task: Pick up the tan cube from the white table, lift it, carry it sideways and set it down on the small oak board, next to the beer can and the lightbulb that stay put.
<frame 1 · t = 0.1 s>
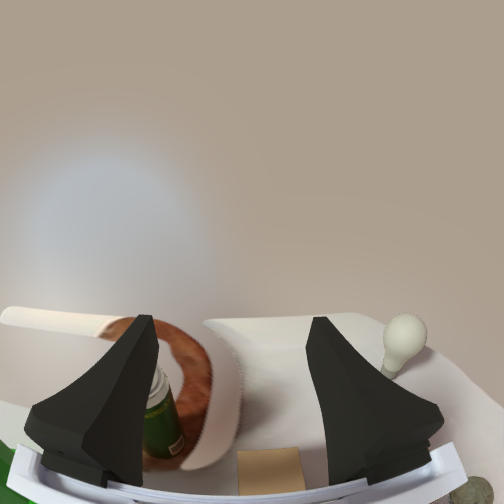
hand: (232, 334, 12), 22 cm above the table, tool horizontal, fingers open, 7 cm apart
lightbulb: (385, 377, 34), on the table
tan cube: (266, 489, 20), on the table
beer can: (163, 442, 25), on the table
plastic bottle: (36, 501, 12), on the table
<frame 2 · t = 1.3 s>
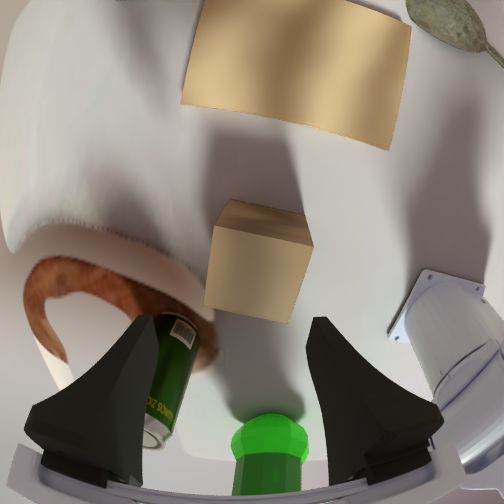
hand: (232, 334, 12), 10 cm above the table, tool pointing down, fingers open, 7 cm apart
soupspoon: (497, 72, 13), on the table
oak board: (301, 54, 15), on the table
tan cube: (259, 240, 21), on the table
beer can: (176, 329, 26), on the table
plastic bottle: (272, 421, 32), on the table
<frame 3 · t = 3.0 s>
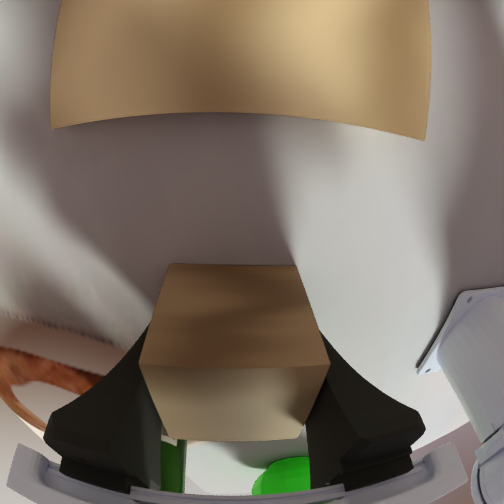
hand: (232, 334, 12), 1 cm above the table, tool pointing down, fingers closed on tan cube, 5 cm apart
tan cube: (232, 313, 13), on the table, touching gripper
beer can: (155, 411, 18), on the table
plastic bottle: (291, 462, 26), on the table
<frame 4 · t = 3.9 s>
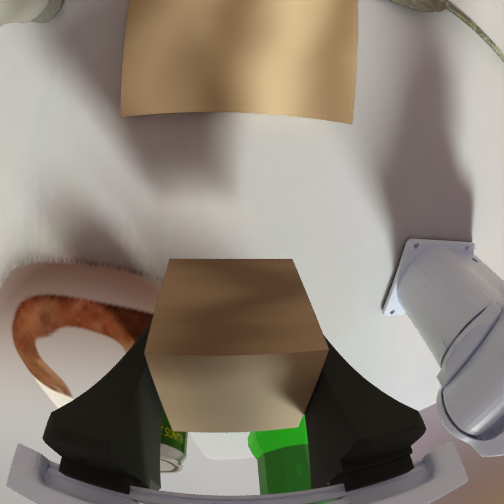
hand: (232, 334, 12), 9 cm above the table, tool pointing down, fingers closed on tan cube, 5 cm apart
lightbulb: (55, 11, 10), on the table
soupspoon: (459, 29, 12), on the table
oak board: (240, 38, 13), on the table
tan cube: (230, 307, 14), point 7 cm above the table, touching gripper
beer can: (167, 345, 25), on the table
plastic bottle: (283, 413, 33), on the table
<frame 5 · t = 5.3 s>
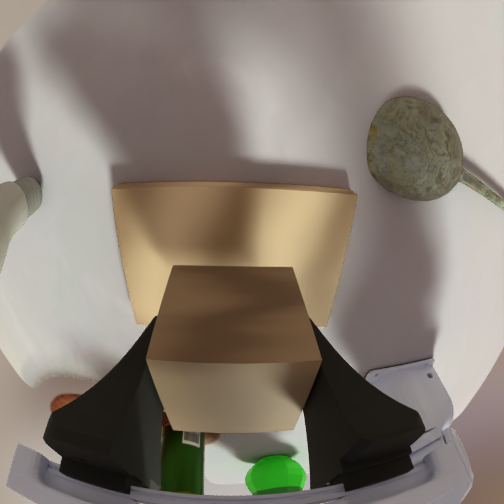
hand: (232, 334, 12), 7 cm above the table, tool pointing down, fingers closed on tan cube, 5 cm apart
lightbulb: (37, 189, 15), on the table
soupspoon: (467, 184, 17), on the table
oak board: (232, 258, 18), on the table
tan cube: (232, 311, 14), point 5 cm above the table, touching gripper
beer can: (184, 427, 30), on the table
plastic bottle: (273, 458, 37), on the table
when the fingers open (3 cm above the table, at t = 6.4 s): tan cube stays where it is, resting on oak board.
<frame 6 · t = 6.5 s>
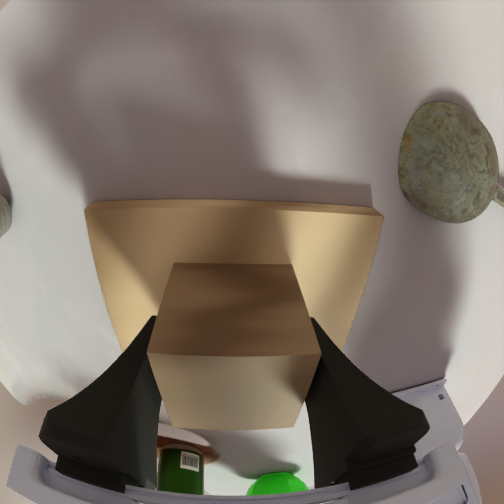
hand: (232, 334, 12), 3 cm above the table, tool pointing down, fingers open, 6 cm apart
lightbulb: (8, 207, 12), on the table
soupspoon: (496, 199, 14), on the table
oak board: (232, 289, 15), on the table
tan cube: (232, 309, 14), point 1 cm above the table, touching oak board
beer can: (182, 449, 27), on the table
plastic bottle: (275, 475, 34), on the table
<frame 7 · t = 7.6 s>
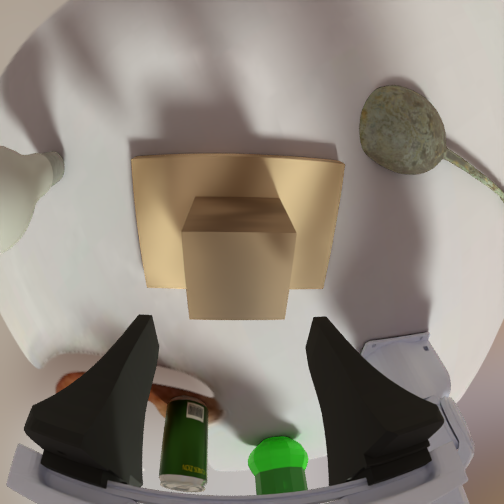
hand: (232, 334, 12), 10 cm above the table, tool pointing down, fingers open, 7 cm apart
lightbulb: (58, 164, 17), on the table
soupspoon: (453, 163, 19), on the table
oak board: (236, 222, 20), on the table
tan cube: (236, 235, 19), point 1 cm above the table, touching oak board
beer can: (188, 403, 32), on the table
plastic bottle: (275, 440, 40), on the table
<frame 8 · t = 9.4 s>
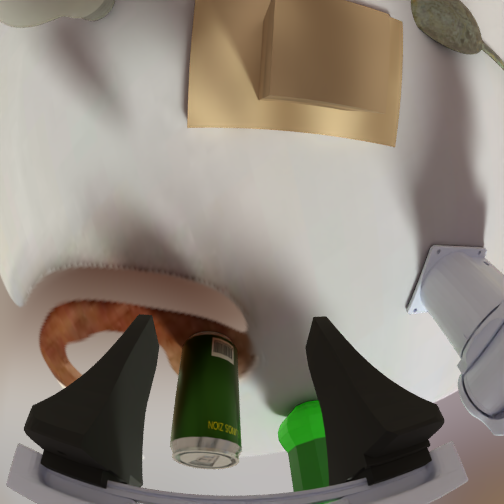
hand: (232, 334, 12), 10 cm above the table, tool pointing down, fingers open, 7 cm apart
lightbulb: (104, 9, 12), on the table
soupspoon: (488, 64, 14), on the table
oak board: (301, 61, 15), on the table
tan cube: (305, 63, 14), point 1 cm above the table, touching oak board
beer can: (210, 346, 27), on the table
plastic bottle: (309, 408, 34), on the table
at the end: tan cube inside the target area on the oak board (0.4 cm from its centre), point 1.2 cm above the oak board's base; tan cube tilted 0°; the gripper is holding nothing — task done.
